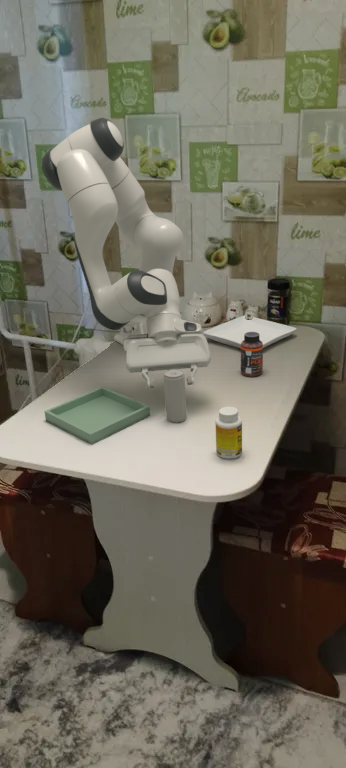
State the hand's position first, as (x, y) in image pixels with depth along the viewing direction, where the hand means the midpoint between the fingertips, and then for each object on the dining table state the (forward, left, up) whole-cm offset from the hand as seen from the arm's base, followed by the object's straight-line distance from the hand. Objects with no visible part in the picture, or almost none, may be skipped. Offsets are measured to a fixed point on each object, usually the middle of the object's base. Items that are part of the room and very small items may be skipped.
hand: (170, 385), depth 152 cm
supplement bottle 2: (-1, +32, -8) cm, 33 cm away
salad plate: (-18, +52, -9) cm, 56 cm away
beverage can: (+2, 0, -8) cm, 9 cm away
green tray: (-13, -12, -8) cm, 20 cm away
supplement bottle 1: (+22, -4, -8) cm, 24 cm away
